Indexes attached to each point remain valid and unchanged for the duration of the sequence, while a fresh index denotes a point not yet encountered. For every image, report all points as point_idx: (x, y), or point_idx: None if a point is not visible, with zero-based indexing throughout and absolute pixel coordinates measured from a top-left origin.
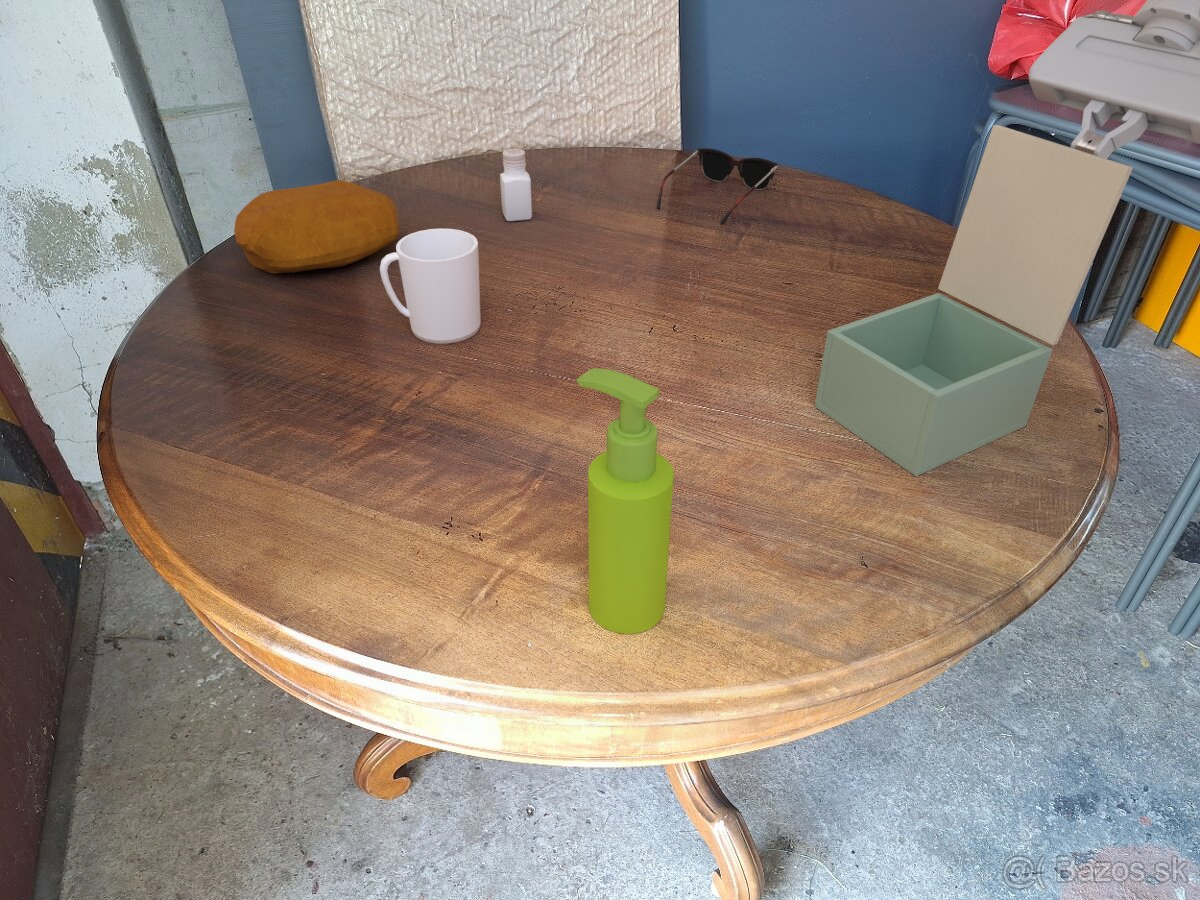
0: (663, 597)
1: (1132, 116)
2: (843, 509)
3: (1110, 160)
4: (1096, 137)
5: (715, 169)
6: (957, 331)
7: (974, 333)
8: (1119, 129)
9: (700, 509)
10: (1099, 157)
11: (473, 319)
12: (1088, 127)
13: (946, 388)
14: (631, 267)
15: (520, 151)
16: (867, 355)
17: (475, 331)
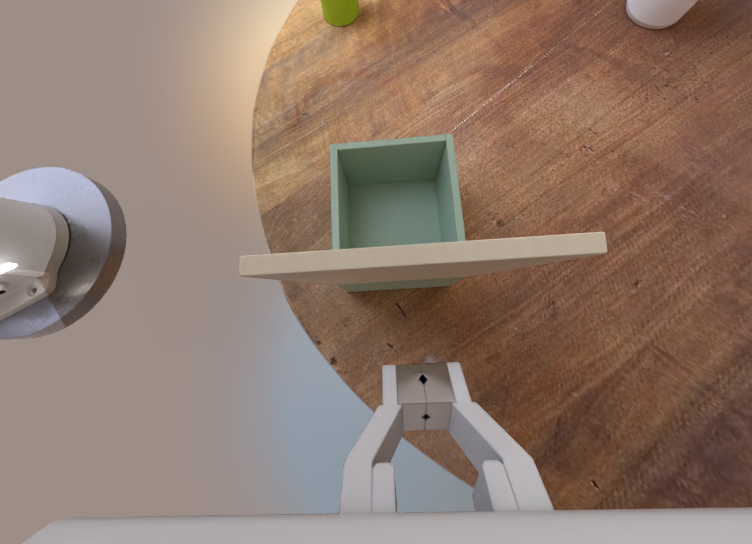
0: (323, 6)
1: (365, 486)
2: (343, 130)
3: (289, 268)
4: (417, 393)
5: None
6: None
7: None
8: (375, 430)
9: (382, 67)
10: (312, 261)
11: (644, 5)
12: (461, 411)
13: (334, 156)
14: (723, 169)
15: None
16: (404, 138)
17: (635, 19)
